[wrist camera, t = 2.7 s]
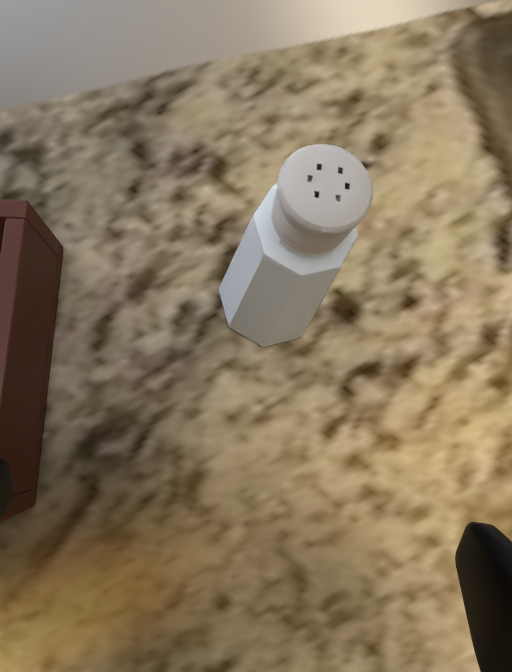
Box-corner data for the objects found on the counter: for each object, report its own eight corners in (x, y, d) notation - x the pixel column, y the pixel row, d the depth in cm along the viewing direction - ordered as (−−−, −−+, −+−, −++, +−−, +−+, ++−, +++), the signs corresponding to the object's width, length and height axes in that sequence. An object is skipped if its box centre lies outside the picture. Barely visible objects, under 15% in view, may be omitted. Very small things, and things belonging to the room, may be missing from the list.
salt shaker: (322, 259, 23) (423, 119, 13) (313, 355, 22) (416, 288, 12) (225, 243, 23) (246, 82, 12) (210, 340, 22) (219, 255, 11)
